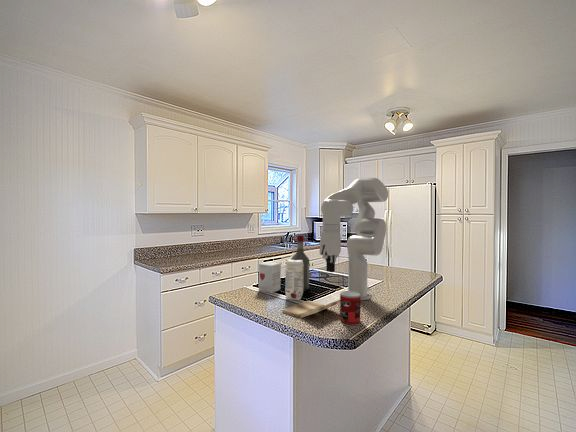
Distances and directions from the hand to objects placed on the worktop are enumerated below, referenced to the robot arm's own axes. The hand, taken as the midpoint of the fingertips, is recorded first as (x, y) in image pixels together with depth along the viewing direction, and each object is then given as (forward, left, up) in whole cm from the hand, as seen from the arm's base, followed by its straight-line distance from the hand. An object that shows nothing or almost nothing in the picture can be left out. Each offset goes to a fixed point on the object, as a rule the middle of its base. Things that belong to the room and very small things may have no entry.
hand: (330, 271), depth 124 cm
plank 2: (0, -1, -16) cm, 16 cm away
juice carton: (-6, -26, -18) cm, 32 cm away
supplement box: (-7, -45, -18) cm, 49 cm away
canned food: (+1, +10, -18) cm, 21 cm away
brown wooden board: (+4, -11, -18) cm, 22 cm away
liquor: (-22, -36, -18) cm, 46 cm away
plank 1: (+9, -1, -16) cm, 18 cm away
